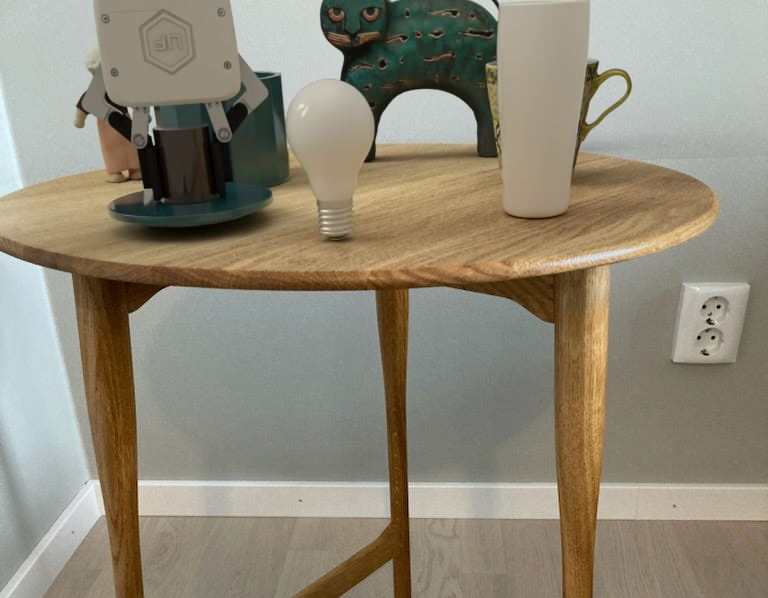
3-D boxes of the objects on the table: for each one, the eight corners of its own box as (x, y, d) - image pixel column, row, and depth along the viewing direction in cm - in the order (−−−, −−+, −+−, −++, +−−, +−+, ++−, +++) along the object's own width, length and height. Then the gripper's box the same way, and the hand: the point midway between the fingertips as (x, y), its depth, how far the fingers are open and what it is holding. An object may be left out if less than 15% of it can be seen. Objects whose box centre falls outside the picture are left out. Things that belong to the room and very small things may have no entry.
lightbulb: (388, 230, 71) (383, 73, 65) (365, 250, 66) (357, 82, 60) (311, 228, 73) (299, 75, 67) (282, 248, 67) (267, 84, 62)
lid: (76, 229, 72) (57, 139, 69) (164, 195, 83) (151, 115, 79) (228, 235, 68) (215, 139, 65) (299, 198, 79) (292, 114, 75)
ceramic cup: (472, 188, 84) (473, 67, 79) (496, 168, 92) (499, 58, 87) (617, 192, 80) (628, 65, 75) (629, 171, 88) (639, 55, 83)
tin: (142, 191, 89) (125, 84, 84) (204, 168, 99) (191, 72, 94) (257, 194, 85) (245, 83, 81) (309, 170, 95) (301, 70, 91)
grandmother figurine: (147, 171, 99) (125, 40, 92) (164, 175, 96) (143, 40, 90) (80, 182, 95) (52, 46, 88) (95, 187, 92) (68, 46, 86)
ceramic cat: (328, 165, 98) (313, -55, 88) (333, 155, 103) (320, -52, 93) (515, 158, 97) (521, -65, 87) (510, 148, 102) (515, -62, 92)
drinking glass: (589, 206, 75) (604, -2, 68) (559, 224, 70) (571, 1, 63) (513, 201, 78) (519, 1, 71) (479, 217, 73) (482, 4, 66)
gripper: (22, -67, 61) (80, 213, 70) (274, -77, 64) (298, 195, 73) (37, -61, 67) (88, 195, 77) (265, -71, 70) (288, 179, 79)
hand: (190, 192), depth 75 cm, fingers closed on lid, 4 cm apart
